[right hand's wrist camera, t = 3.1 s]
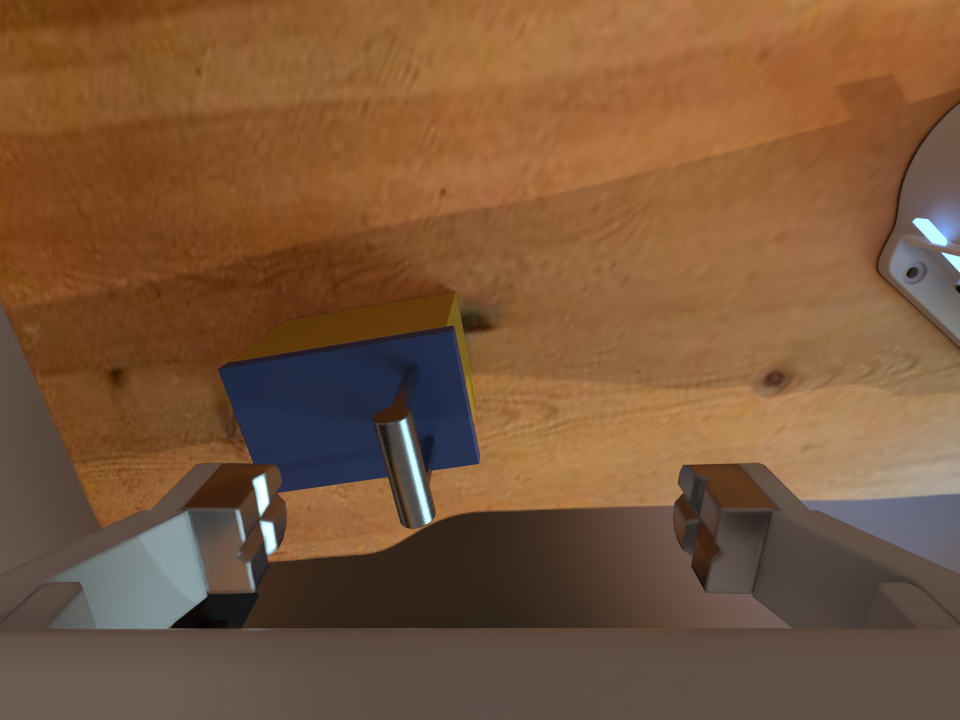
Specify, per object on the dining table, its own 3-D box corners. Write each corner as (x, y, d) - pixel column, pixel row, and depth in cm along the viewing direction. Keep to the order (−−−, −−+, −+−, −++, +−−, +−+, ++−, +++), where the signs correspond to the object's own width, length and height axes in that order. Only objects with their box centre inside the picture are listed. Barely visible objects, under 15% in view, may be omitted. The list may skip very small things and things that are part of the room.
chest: (456, 291, 40) (446, 325, 31) (476, 395, 43) (473, 455, 34) (285, 320, 41) (227, 361, 32) (317, 419, 44) (272, 484, 35)
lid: (454, 324, 31) (441, 381, 22) (480, 454, 34) (477, 547, 25) (226, 362, 32) (133, 429, 23) (272, 484, 35) (203, 583, 26)
